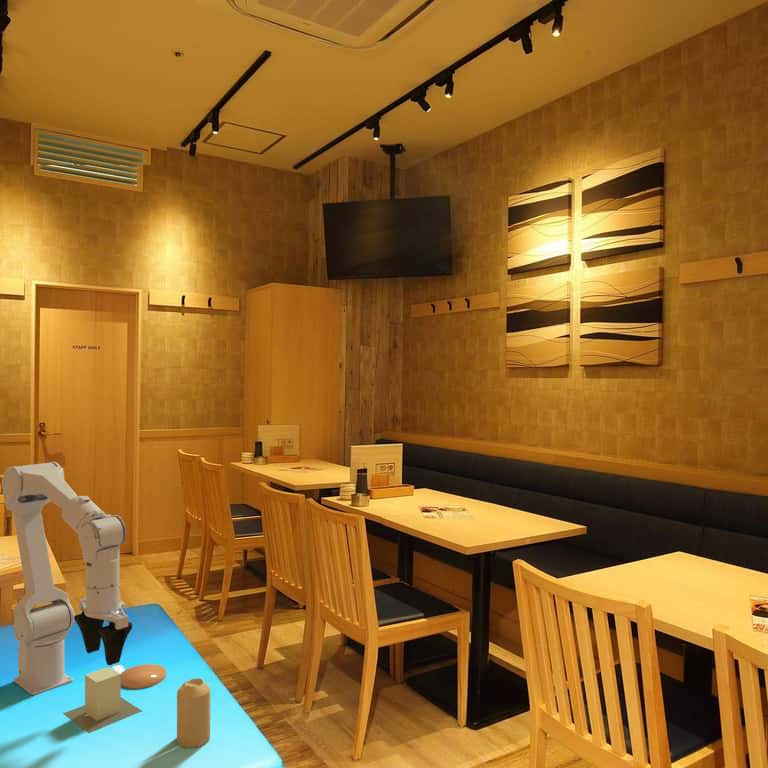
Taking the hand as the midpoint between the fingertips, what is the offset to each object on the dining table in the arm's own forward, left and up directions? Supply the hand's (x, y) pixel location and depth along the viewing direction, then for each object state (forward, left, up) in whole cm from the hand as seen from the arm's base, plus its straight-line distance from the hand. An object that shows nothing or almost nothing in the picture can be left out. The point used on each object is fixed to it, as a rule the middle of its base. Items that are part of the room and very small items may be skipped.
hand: (102, 657), depth 123 cm
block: (0, 0, -10) cm, 10 cm away
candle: (+20, +6, -11) cm, 23 cm away
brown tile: (0, 0, -10) cm, 10 cm away
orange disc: (-7, +12, -10) cm, 17 cm away
